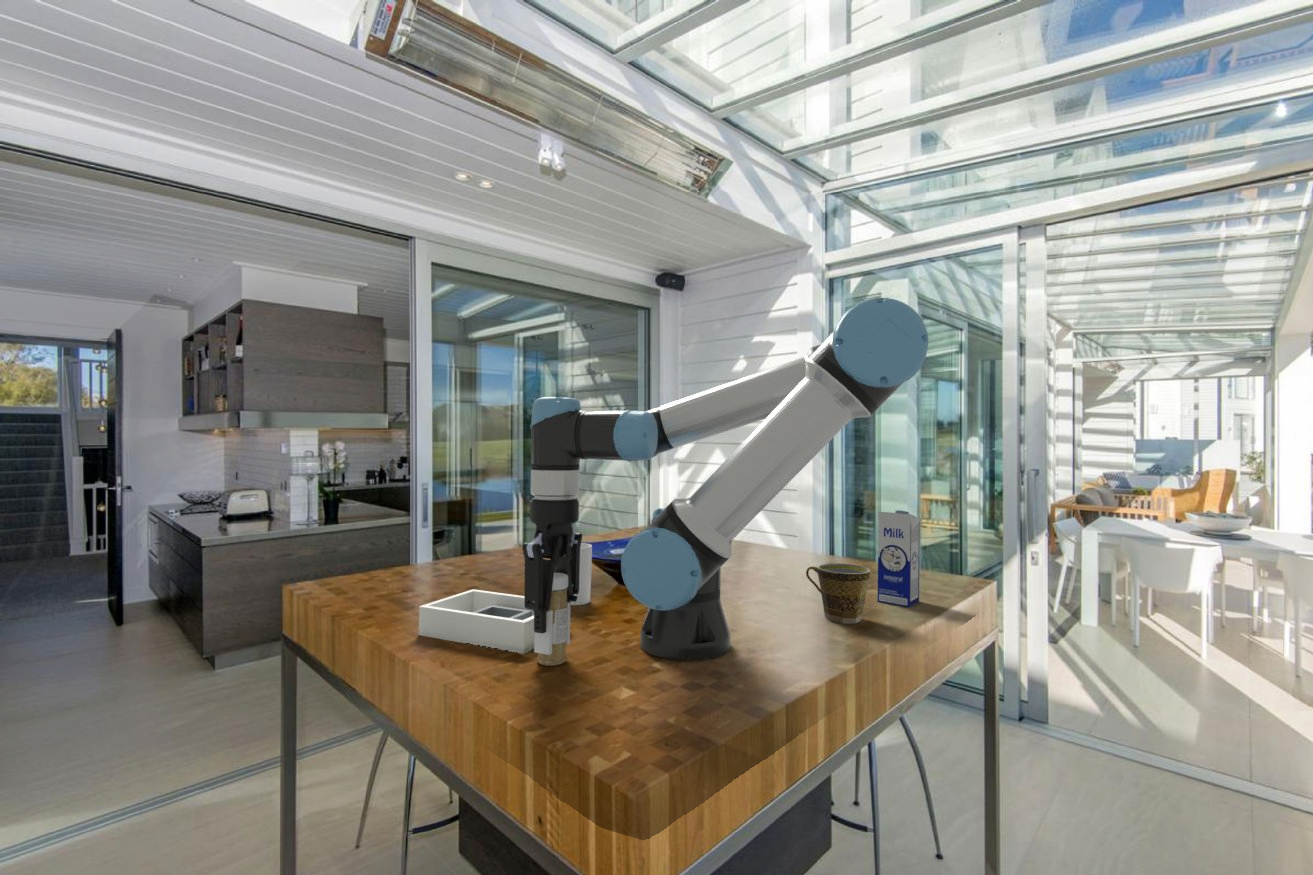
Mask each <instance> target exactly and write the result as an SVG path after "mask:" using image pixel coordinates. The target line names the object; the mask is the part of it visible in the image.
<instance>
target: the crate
mask: <svg viewBox="0 0 1313 875" xmlns="http://www.w3.org/2000/svg"><path fill="white" fill-rule="evenodd" d="M534 635H535V632H534V611H533V610H530V609H526V608H525V595H518V594H510V593H504V592H503V593H502V592H495V591H488V590H482V589H481V590H480V589H475V588H474V589H473V588H472V589H469V590H467V591H464V592H461V593H457V594H454V595H450V596H448V597H444V598H441V599H438V600H435V601H432V602H429V603H426V604H423V605H420V606H419V607H418V636H421V637H426V638H427V637H428V638H432V639H439V640H443V641H451V642H454V643H460V644H461V643H462V644H466V643H470V644H469V645H471V644H473V646H477V645H480V646H479V647H482V646H486V647H485V648H488V647H491V648H490V649H494V648H498V649H497V650H499V649H500V651H505V650H508V651H507V652H512V653H516V652H517V654H521V655H522V654H524V655H525V654H527V653H528V652H530V651H532V650H534Z"/></svg>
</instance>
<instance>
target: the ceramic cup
mask: <svg viewBox="0 0 1313 875" xmlns="http://www.w3.org/2000/svg"><path fill="white" fill-rule="evenodd" d="M810 570H812V571H814V572H815V573H817V576H818V582H819V585H818V584H817V583H816V582H815V581H814V580H813V579H812V578H811V576H810V575H809V572H810ZM805 574H806V578H807V580H809V581H810V582H811V583H812V584H813V585H814V587H815V588H816V589H817V591H818V592H819V593H820V594H821V598H822V599H821V600H822V605H823V612H824V617H825V618H826V619H827V620H828V621H829V622H832V623H838V624H846V625H849V624H854V625H855V624H858V623H859V622H861V620H862V617H863V611H864V607H865V601H866V596H867V591H868V588H869V582H870V575H871V570H870V569H869V568H867V567H865V566H862V565H858V564H852V563H850V564H849V563H837V562H835V563H822V564H819V565H817V567H816V566H809V567H808V568H806V571H805Z"/></svg>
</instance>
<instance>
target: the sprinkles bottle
mask: <svg viewBox="0 0 1313 875" xmlns="http://www.w3.org/2000/svg"><path fill="white" fill-rule="evenodd" d="M567 587H568V575H566V574H564V573H554V577H553V585H552V592H551V600H550V607H549V610H553V629H552V654H550V655H547V654H541V653H537V658H536V660H537V663H538V664H540V665H542V666H547V667H549V666H550V667H551V666H553V667H554V666H559V665H562V664H563V663H566V662H567V645H566V639H567Z"/></svg>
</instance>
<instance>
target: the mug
mask: <svg viewBox="0 0 1313 875" xmlns="http://www.w3.org/2000/svg"><path fill="white" fill-rule="evenodd" d="M571 547H572V546H571ZM592 557H593V545H592V544H590V543H584V542H581V546H580V572H579V593H578V594H574V595H573V596H577V600H576V601H575V602H574V601H571V605H570V606H582V605H583V606H584V605H587V604H589V603H590V602H591V590H592V589H591V588H592V587H591V586H592V585H591V583H592V565H593V564H592V560H593V558H592ZM572 586H573V585H572Z"/></svg>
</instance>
